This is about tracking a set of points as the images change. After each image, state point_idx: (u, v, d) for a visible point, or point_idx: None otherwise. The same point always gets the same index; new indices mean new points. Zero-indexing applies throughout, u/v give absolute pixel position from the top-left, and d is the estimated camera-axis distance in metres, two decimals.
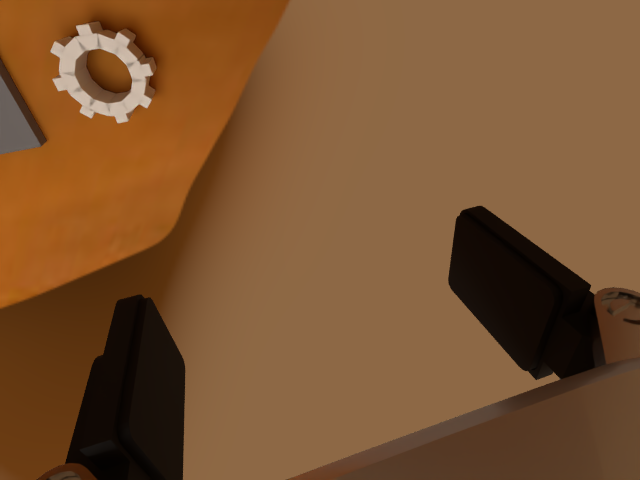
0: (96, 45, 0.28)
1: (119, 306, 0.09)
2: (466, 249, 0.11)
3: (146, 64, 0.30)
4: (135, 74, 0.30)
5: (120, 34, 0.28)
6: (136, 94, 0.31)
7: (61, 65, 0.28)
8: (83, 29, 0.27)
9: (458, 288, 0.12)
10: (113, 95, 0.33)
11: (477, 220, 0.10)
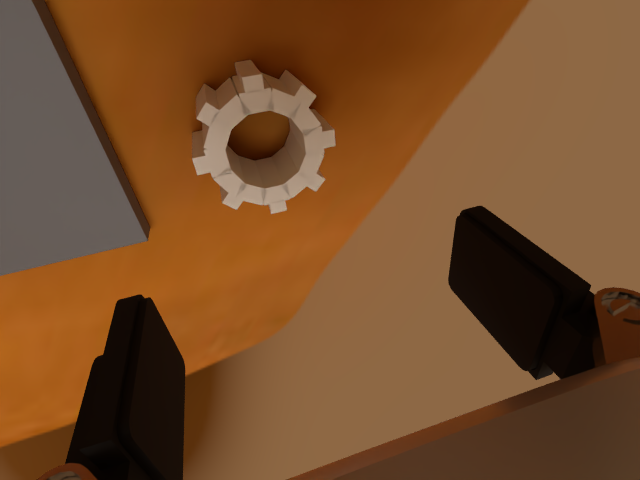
0: (266, 106, 0.17)
1: (119, 306, 0.09)
2: (466, 249, 0.11)
3: (330, 130, 0.19)
4: (311, 145, 0.19)
5: (304, 88, 0.17)
6: (306, 173, 0.20)
7: (209, 138, 0.17)
8: (253, 81, 0.17)
9: (458, 288, 0.12)
10: (255, 166, 0.22)
11: (477, 220, 0.10)
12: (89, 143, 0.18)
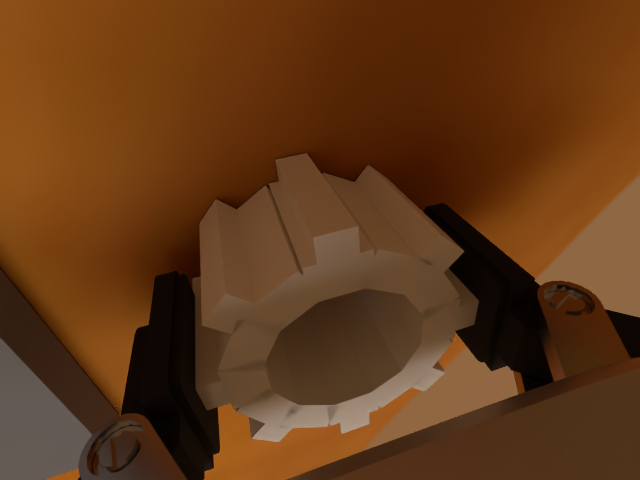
0: (358, 282, 0.08)
1: (158, 281, 0.10)
2: None
3: (472, 301, 0.09)
4: (434, 330, 0.09)
5: (443, 240, 0.08)
6: (414, 371, 0.10)
7: (229, 352, 0.08)
8: (337, 242, 0.07)
9: None
10: (304, 325, 0.12)
11: (438, 217, 0.11)
12: None
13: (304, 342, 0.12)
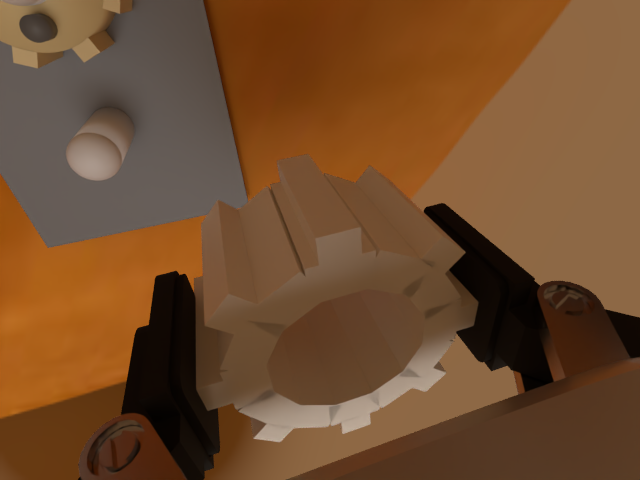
0: (360, 282, 0.08)
1: (158, 281, 0.10)
2: None
3: (473, 301, 0.09)
4: (435, 331, 0.09)
5: (444, 241, 0.08)
6: (415, 371, 0.10)
7: (232, 352, 0.08)
8: (339, 243, 0.07)
9: None
10: (306, 325, 0.12)
11: (438, 217, 0.11)
12: (222, 124, 0.24)
13: (305, 342, 0.12)
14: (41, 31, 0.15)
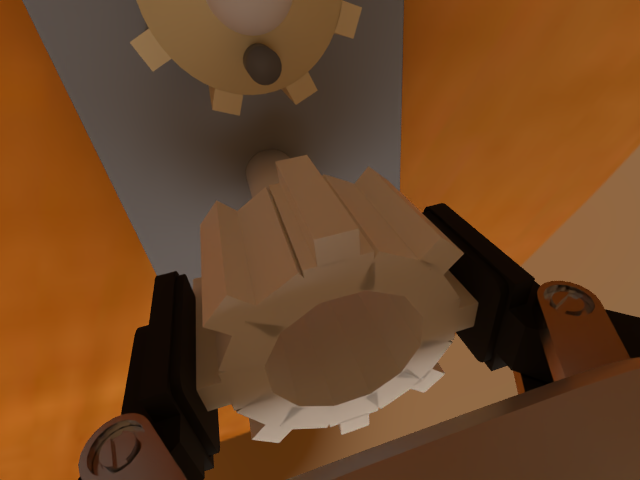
0: (359, 284, 0.08)
1: (158, 281, 0.10)
2: None
3: (472, 303, 0.09)
4: (434, 332, 0.09)
5: (443, 242, 0.08)
6: (414, 372, 0.10)
7: (230, 353, 0.08)
8: (338, 244, 0.07)
9: None
10: (305, 326, 0.12)
11: (438, 217, 0.11)
12: (391, 161, 0.20)
13: (304, 343, 0.12)
14: (272, 69, 0.11)
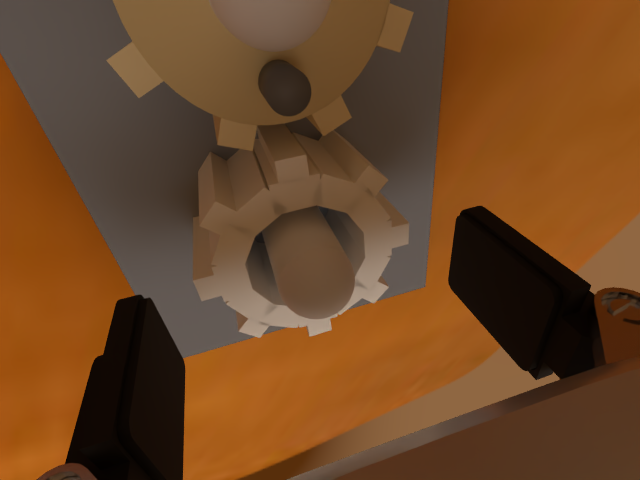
0: (310, 200, 0.11)
1: (119, 306, 0.09)
2: (466, 249, 0.11)
3: (402, 224, 0.12)
4: (374, 247, 0.13)
5: (371, 169, 0.11)
6: (363, 282, 0.13)
7: (219, 250, 0.11)
8: (292, 166, 0.10)
9: (458, 288, 0.12)
10: None
11: (477, 220, 0.10)
12: (423, 189, 0.17)
13: None
14: (298, 96, 0.08)
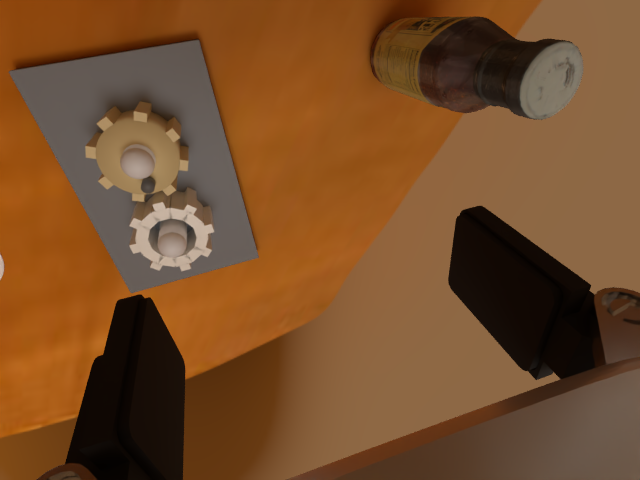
0: (168, 216, 0.32)
1: (119, 306, 0.09)
2: (466, 249, 0.11)
3: (209, 224, 0.33)
4: (199, 233, 0.34)
5: (189, 205, 0.32)
6: (199, 248, 0.34)
7: (137, 234, 0.32)
8: (158, 205, 0.31)
9: (458, 288, 0.12)
10: None
11: (477, 220, 0.10)
12: (240, 210, 0.38)
13: None
14: (150, 188, 0.29)
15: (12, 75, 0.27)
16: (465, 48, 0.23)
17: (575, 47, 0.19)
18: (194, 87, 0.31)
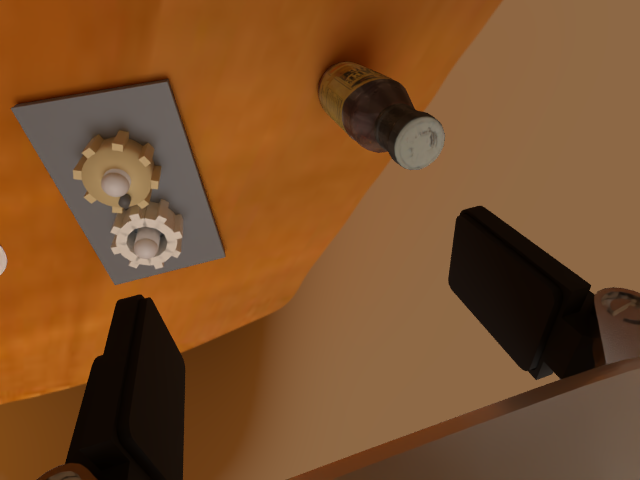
0: (143, 225, 0.39)
1: (119, 306, 0.09)
2: (466, 249, 0.11)
3: (178, 231, 0.40)
4: (169, 238, 0.40)
5: (160, 216, 0.39)
6: (170, 250, 0.41)
7: (117, 239, 0.39)
8: (134, 216, 0.38)
9: (457, 288, 0.12)
10: None
11: (477, 220, 0.10)
12: (208, 217, 0.45)
13: None
14: (126, 204, 0.36)
15: (14, 111, 0.34)
16: (370, 106, 0.30)
17: (434, 120, 0.25)
18: (164, 119, 0.37)
